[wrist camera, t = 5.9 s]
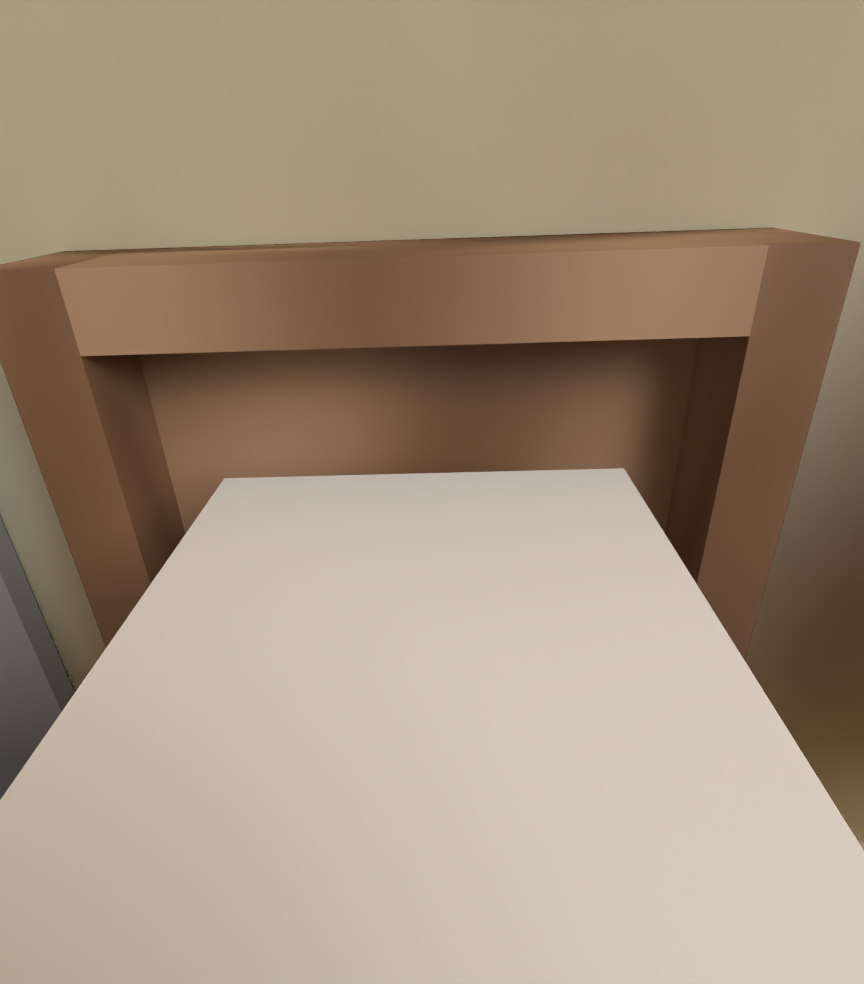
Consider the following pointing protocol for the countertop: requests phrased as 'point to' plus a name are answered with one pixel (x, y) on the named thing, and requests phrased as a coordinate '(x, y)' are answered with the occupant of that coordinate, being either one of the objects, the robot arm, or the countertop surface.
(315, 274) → the walnut tray
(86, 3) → the countertop surface
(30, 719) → the grey drawer cabinet
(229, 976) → the grey-fronted drawer box
